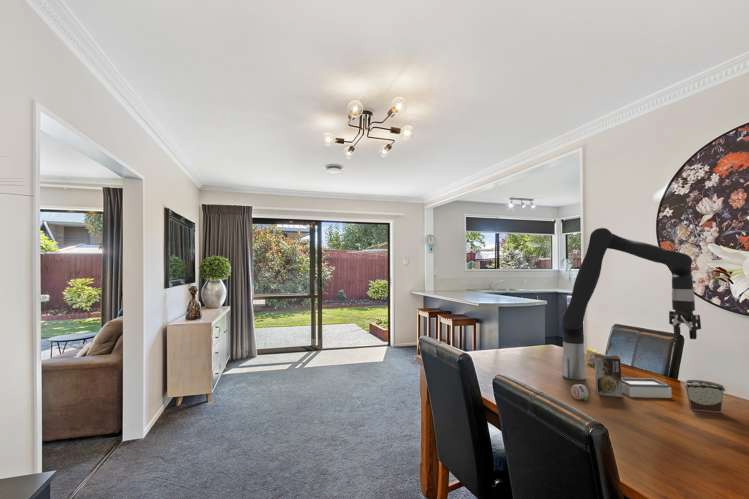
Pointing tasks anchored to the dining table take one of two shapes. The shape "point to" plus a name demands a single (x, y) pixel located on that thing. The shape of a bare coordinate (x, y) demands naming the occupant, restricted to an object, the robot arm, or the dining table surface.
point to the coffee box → (608, 375)
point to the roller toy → (579, 392)
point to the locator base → (645, 388)
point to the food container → (704, 395)
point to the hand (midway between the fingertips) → (685, 337)
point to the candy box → (592, 356)
